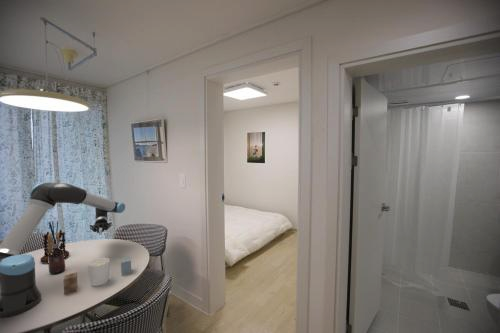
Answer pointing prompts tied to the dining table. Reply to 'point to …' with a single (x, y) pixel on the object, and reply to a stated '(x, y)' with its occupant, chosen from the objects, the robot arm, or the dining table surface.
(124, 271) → the slate-blue block
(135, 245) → the dining table surface
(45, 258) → the brown dark-edged pieces
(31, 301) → the robot arm
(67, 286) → the walnut block
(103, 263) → the candle holder
